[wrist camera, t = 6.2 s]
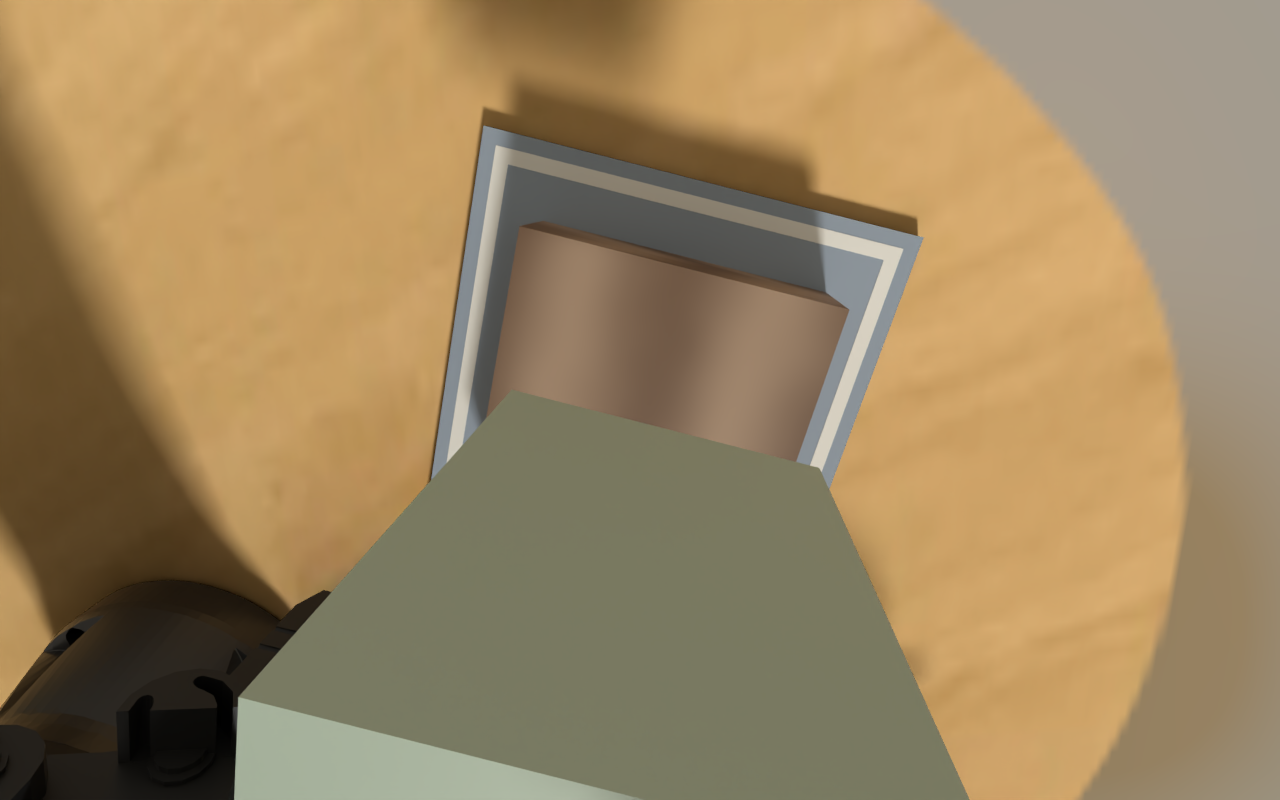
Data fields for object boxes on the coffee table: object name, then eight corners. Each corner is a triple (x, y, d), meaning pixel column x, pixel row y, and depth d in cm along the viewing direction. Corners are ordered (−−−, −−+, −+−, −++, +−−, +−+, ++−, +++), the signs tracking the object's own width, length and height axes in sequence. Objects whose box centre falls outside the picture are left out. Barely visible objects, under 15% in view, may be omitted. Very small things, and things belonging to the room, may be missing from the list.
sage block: (465, 641, 16) (220, 1133, 8) (511, 389, 14) (239, 696, 6) (730, 709, 16) (771, 1271, 8) (819, 468, 14) (1010, 892, 6)
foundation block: (495, 478, 30) (468, 519, 26) (543, 220, 26) (519, 226, 23) (743, 539, 30) (751, 589, 26) (826, 292, 26) (849, 309, 23)
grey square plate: (430, 511, 32) (425, 517, 31) (488, 126, 26) (483, 125, 25) (783, 599, 32) (785, 606, 31) (918, 236, 26) (923, 237, 26)
